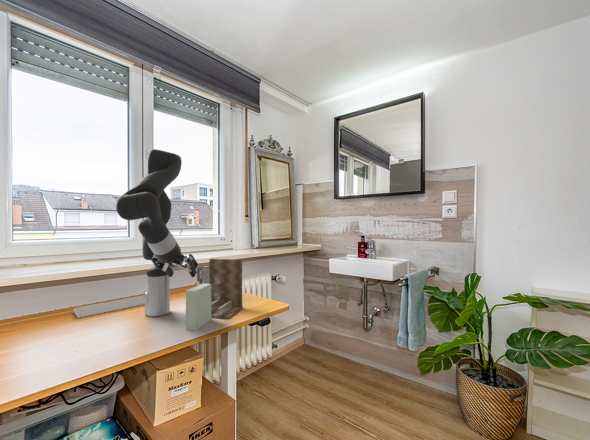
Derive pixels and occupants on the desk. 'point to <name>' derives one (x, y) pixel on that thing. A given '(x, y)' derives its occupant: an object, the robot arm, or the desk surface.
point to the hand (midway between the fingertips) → (182, 275)
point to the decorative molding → (109, 306)
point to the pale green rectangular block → (198, 306)
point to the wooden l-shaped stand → (225, 287)
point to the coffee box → (202, 275)
